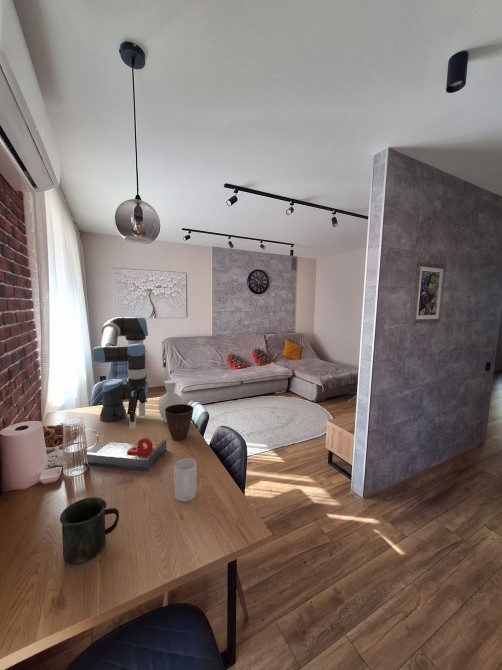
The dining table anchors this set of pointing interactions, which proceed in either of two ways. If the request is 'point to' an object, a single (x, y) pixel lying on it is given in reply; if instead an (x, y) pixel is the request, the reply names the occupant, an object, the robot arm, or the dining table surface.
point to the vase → (168, 398)
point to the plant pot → (179, 420)
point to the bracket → (142, 448)
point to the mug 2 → (185, 479)
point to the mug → (85, 529)
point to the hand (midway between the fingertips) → (137, 421)
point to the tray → (125, 456)
